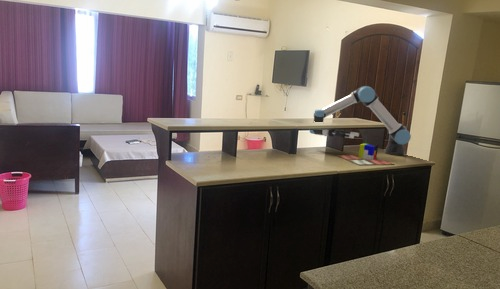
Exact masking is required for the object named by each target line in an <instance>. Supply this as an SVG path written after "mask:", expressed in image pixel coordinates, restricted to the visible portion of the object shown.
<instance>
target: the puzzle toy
mask: <svg viewBox="0 0 500 289" xmlns="http://www.w3.org/2000/svg"><path fill="white" fill-rule="evenodd" d="M378 150H379V144H372V143H369V142H368V143H366V142H364V143H361V144H359V151H358V157H359V158H361V159H364V160H377V157H378Z"/></svg>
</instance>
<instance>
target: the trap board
mask: <svg viewBox="0 0 500 289" xmlns="http://www.w3.org/2000/svg"><path fill="white" fill-rule="evenodd" d="M336 156H337V157H338V158H341V159H343V160H346V161H348V162H350V163H352V164H354V163H355V164H354V165H358V166H395V164H394V163H392V162H390V161H386V160H384V159H373V160H368V159H363V158H359V156H356V155H354V154H353V155H352V154H350V155H349V154H348V155H343V154H342V155H340V154H338V155H336Z"/></svg>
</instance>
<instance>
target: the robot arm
mask: <svg viewBox="0 0 500 289" xmlns="http://www.w3.org/2000/svg"><path fill="white" fill-rule="evenodd" d="M360 102H362V104H363V105H364V106H365V107H367V108H369V109H370V110H371V111H372V113H373V114H374V115H375V116H376V117H377V118H378V119H379V120H380V122H381V123H382V124H383V125H384V126H385V128H386V129H387V131H388V134H389V136H388V143H387V145H386V147H385V149H384V153H385V154H388V155H393V156H405V152H406V150H405V146H404V145H406V144H408V143H409V142H410V140H411V138H412V137H411V136H412V135H411V133H410V131H409V130H408V129H407V127H406V126H405V125H403V124H402V123H399V122H397V120H396V119H395V118H394V117H393V115H392V114H391V113H390V111H388V110H387V108H386V107H385V106H384V105H383V103H382V102H381V101H380V100H379V96H378V94H377V93H376V91H375V90H374V88H373V87H371V86H369V85H363V86H360V87H358V88H356V89H355V90H353V91H352V92H350V94H349V95H347V96H344V97H343V98H341V99H338V100H337V101H335V102H332V103H331V104H329V105H327V106H325V107H322V108H321V109H315V110H314V112H313V122H314V121H315V122H323V123H324V119H325V118H327V117H329V116H331V115H333V114H335V113H337V112H339V111H341V110H343V109H345V108H347V107H349V106H351V105H353V104H358V103H360ZM309 133H310V134H311V135H312V134H313V135H317V136H324V137H325V138H326V137H331V138H334V137H335V136H336V137H340V138H343V139H345V138H349V139H355V137H357V138H358V137H359V135H360V133H359V132H354V131H352V130H348V131H347V130H340V129H337V130H336V128H335V129H331V130H310V129H309Z"/></svg>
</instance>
